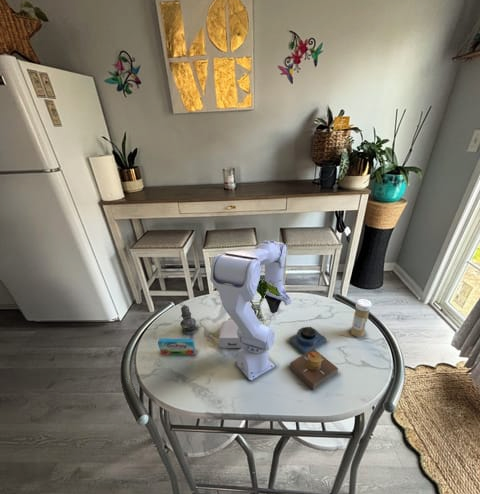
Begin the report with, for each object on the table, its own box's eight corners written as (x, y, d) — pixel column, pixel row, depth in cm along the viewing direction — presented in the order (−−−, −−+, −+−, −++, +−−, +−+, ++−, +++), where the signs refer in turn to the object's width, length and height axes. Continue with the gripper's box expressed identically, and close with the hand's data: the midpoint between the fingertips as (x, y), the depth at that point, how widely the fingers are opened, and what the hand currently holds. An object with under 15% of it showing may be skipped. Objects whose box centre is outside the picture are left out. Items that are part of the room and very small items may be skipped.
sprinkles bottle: (367, 334, 96) (374, 303, 88) (357, 339, 94) (364, 308, 87) (357, 327, 99) (363, 296, 92) (347, 331, 98) (353, 301, 90)
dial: (323, 366, 82) (324, 357, 80) (313, 372, 80) (314, 363, 78) (313, 358, 85) (314, 349, 83) (304, 364, 83) (305, 355, 81)
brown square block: (313, 390, 78) (313, 384, 77) (289, 368, 86) (290, 362, 84) (337, 373, 83) (338, 368, 81) (313, 354, 90) (313, 348, 88)
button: (307, 341, 90) (308, 337, 90) (298, 334, 94) (298, 330, 93) (317, 336, 92) (317, 332, 91) (308, 329, 96) (308, 325, 95)
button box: (304, 354, 90) (305, 347, 88) (289, 341, 95) (289, 334, 93) (325, 341, 94) (326, 334, 92) (310, 330, 100) (310, 322, 98)
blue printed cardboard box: (196, 352, 94) (193, 338, 91) (195, 355, 93) (192, 342, 89) (162, 351, 95) (158, 338, 92) (161, 354, 94) (157, 341, 91)
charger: (248, 320, 106) (246, 348, 94) (225, 320, 107) (219, 347, 95) (248, 310, 104) (245, 338, 91) (224, 310, 105) (218, 337, 92)
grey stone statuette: (200, 330, 103) (195, 305, 97) (185, 337, 101) (179, 311, 94) (193, 322, 107) (188, 297, 101) (179, 328, 105) (173, 303, 98)
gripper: (299, 283, 82) (297, 317, 90) (269, 265, 93) (270, 297, 100) (281, 291, 79) (280, 326, 87) (252, 271, 90) (254, 304, 97)
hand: (273, 311), depth 93 cm, fingers closed
